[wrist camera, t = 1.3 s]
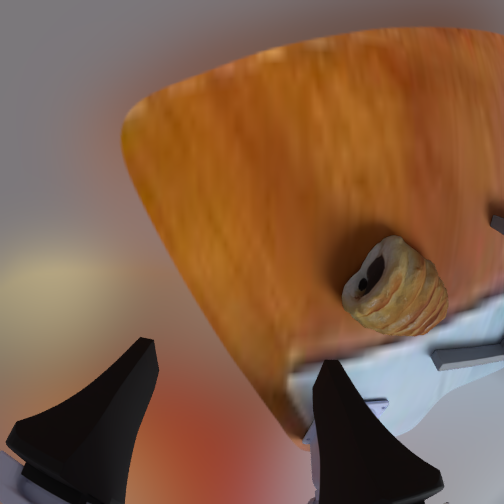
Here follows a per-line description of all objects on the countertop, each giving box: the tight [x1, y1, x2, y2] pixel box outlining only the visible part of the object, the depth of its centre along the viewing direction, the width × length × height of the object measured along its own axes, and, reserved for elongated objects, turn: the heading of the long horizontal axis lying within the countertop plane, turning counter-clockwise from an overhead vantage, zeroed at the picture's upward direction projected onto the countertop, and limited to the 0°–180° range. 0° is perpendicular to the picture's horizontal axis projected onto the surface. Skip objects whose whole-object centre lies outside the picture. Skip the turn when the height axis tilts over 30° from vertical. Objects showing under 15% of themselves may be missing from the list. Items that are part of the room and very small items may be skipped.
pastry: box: [342, 235, 448, 336], centre depth 18 cm, size 9×7×4 cm
